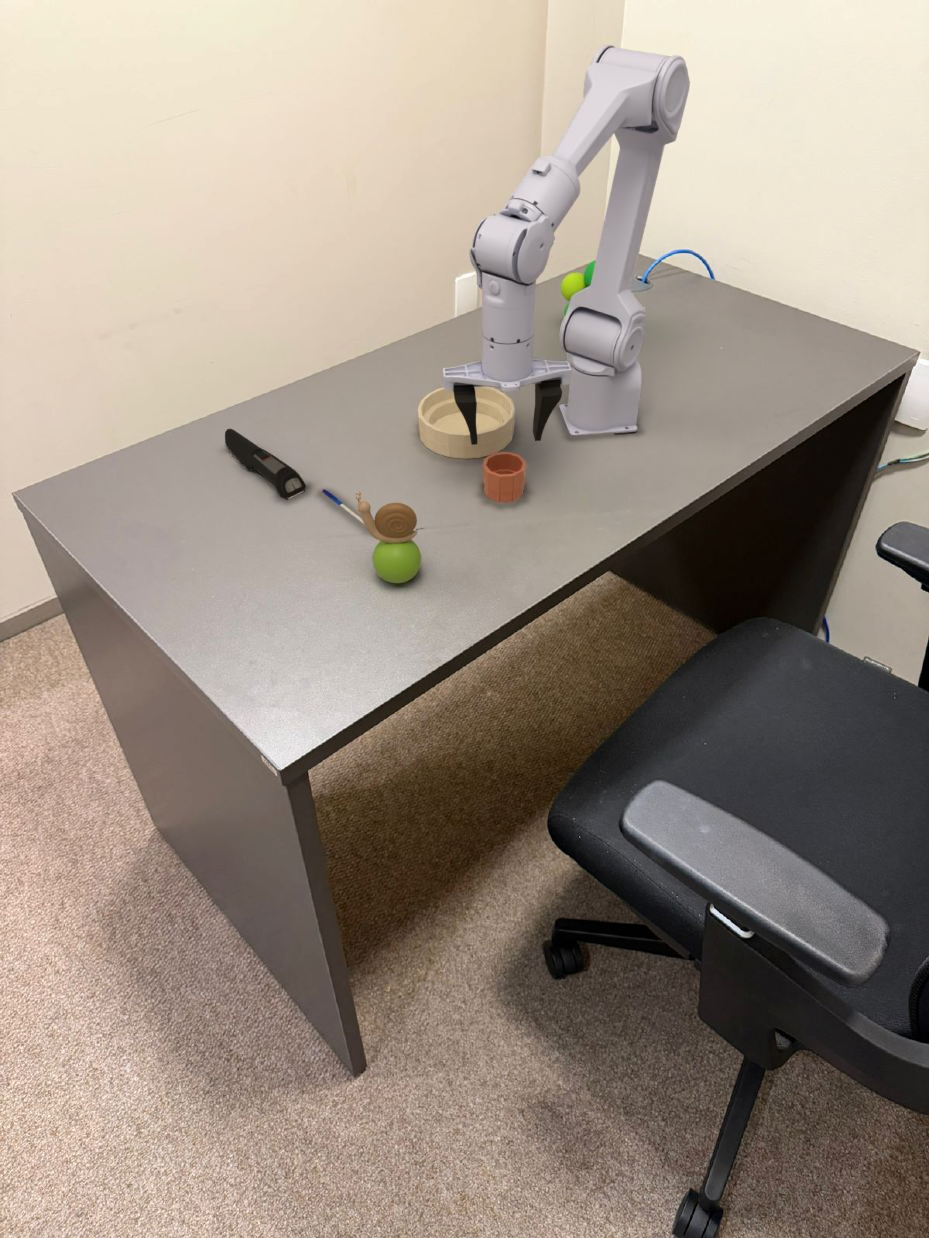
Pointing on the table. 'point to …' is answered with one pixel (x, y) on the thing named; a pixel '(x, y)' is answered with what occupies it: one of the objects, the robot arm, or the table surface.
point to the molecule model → (576, 283)
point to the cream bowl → (449, 429)
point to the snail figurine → (392, 540)
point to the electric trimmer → (265, 464)
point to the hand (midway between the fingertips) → (505, 438)
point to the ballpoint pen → (341, 504)
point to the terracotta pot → (504, 476)
